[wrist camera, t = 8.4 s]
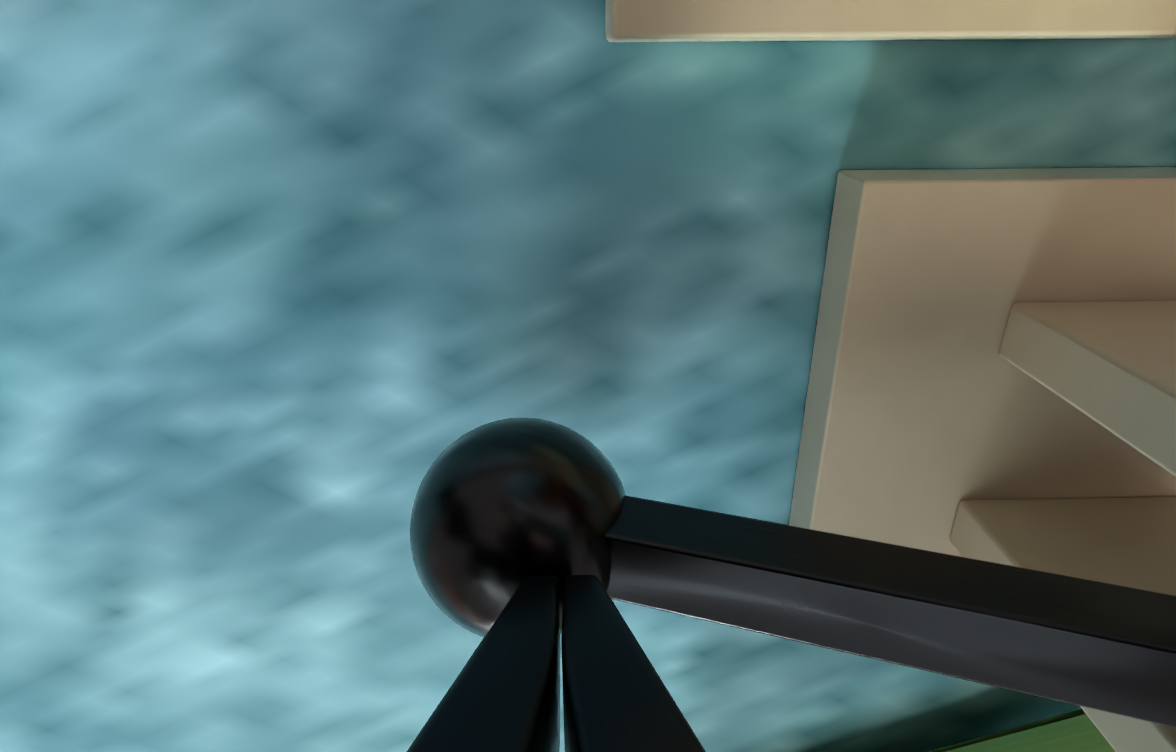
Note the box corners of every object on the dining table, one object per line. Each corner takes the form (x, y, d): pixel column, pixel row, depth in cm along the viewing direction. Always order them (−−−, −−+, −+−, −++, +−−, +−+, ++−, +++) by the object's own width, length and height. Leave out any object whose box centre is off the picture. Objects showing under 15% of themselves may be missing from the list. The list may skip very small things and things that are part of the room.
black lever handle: (480, 529, 13) (380, 661, 10) (466, 371, 11) (345, 472, 9) (1492, 743, 9) (1800, 1065, 6) (1655, 534, 7) (2155, 825, 5)
